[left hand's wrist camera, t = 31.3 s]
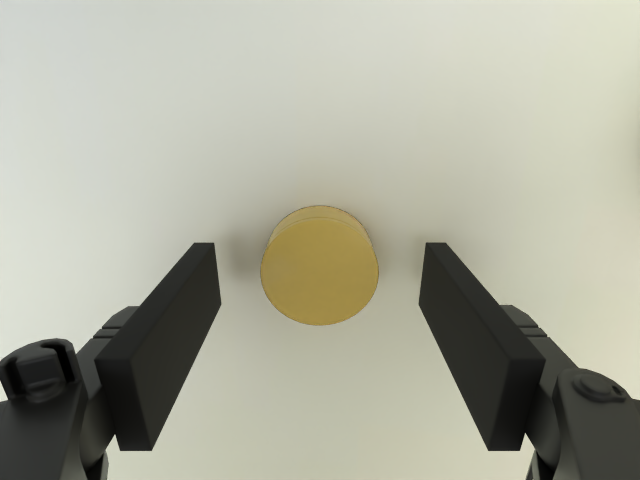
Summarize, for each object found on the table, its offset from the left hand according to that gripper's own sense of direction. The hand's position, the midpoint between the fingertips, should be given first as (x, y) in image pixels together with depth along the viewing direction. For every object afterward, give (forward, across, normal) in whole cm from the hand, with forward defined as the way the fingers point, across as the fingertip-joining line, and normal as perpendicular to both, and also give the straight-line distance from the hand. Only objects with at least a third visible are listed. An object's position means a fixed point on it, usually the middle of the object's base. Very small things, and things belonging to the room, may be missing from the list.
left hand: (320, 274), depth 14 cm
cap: (0, 0, 0) cm, 0 cm away
